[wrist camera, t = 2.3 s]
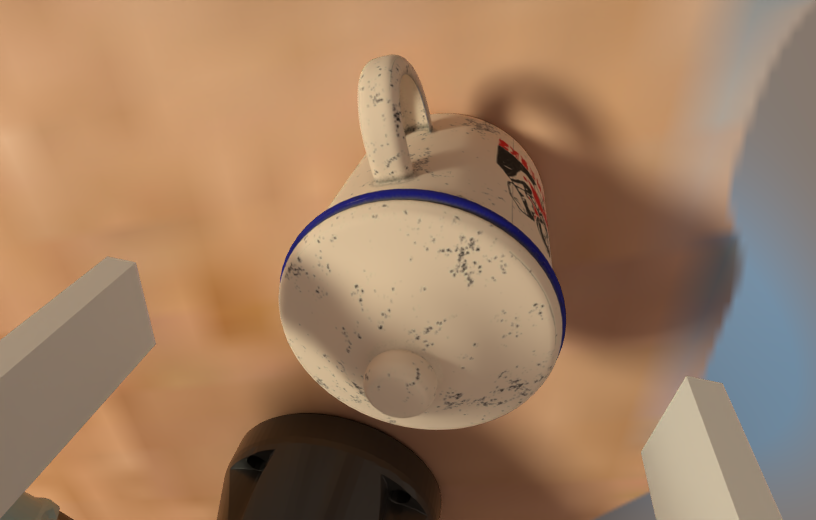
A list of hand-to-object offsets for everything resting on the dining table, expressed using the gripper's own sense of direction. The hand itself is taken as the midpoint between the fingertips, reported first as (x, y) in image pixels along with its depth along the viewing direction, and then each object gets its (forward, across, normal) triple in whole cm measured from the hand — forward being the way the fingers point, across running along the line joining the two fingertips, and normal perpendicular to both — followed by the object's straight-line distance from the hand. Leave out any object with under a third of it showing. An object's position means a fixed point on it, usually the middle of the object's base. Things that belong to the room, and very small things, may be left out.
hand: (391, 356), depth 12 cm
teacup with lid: (+12, 0, 0) cm, 12 cm away
